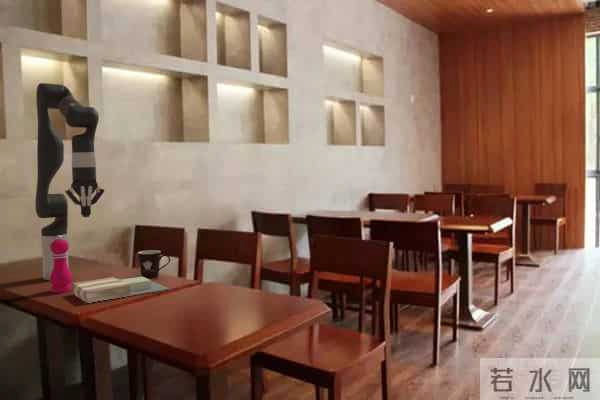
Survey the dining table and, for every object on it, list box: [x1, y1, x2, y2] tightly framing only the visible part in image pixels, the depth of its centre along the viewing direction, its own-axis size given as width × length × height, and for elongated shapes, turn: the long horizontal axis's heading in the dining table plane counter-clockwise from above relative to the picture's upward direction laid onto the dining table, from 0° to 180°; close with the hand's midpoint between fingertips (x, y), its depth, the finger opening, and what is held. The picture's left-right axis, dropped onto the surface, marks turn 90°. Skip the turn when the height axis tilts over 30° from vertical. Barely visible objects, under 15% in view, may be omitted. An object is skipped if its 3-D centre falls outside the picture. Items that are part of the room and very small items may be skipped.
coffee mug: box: [137, 249, 171, 280], centre depth 212 cm, size 12×9×10 cm
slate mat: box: [130, 280, 170, 297], centre depth 193 cm, size 16×14×1 cm
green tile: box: [119, 276, 152, 292], centre depth 192 cm, size 8×9×3 cm
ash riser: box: [72, 277, 130, 304], centre depth 185 cm, size 16×14×4 cm
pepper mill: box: [49, 235, 73, 294], centre depth 191 cm, size 7×7×20 cm
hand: (85, 217), depth 184 cm, fingers closed
